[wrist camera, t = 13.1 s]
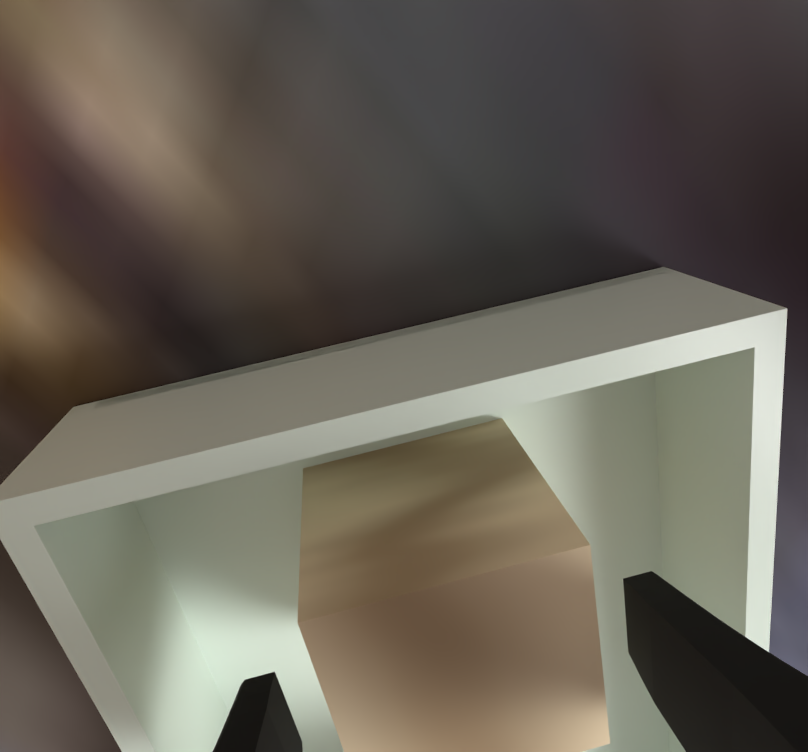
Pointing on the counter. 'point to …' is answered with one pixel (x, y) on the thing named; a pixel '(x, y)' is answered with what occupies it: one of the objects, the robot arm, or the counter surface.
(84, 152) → the counter surface
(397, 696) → the oak cube
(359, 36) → the counter surface
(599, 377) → the tote
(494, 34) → the counter surface
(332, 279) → the counter surface
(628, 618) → the robot arm
